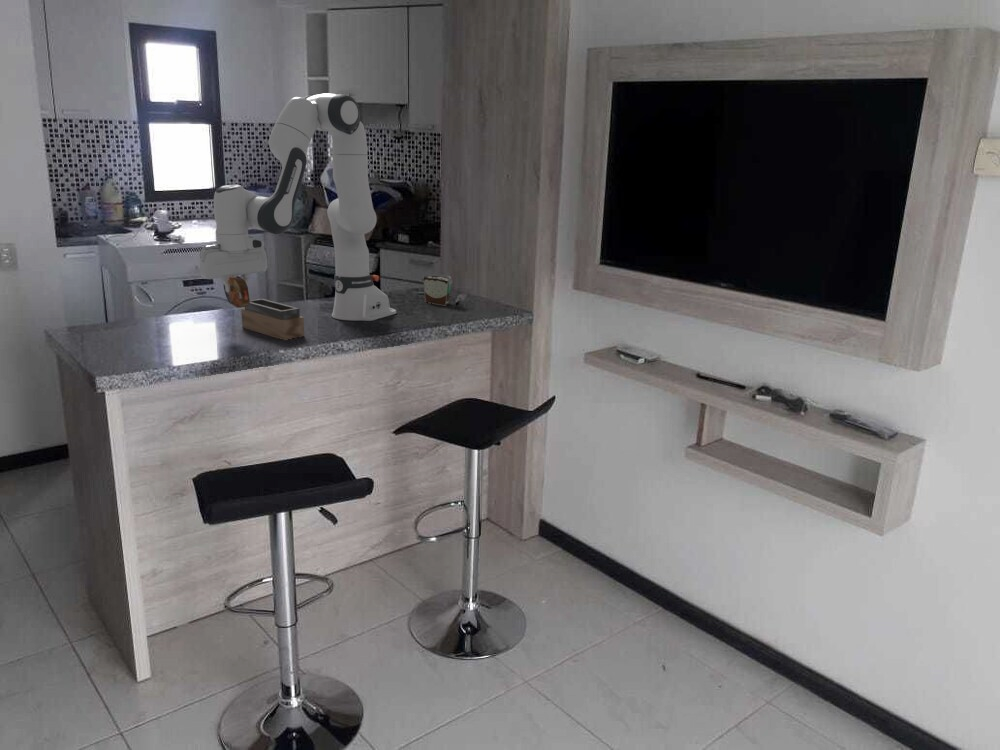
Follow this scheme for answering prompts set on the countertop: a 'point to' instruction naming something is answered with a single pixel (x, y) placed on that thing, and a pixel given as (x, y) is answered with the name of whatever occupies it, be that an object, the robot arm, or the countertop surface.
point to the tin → (238, 292)
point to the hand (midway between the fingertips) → (236, 290)
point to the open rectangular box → (273, 319)
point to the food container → (437, 289)
